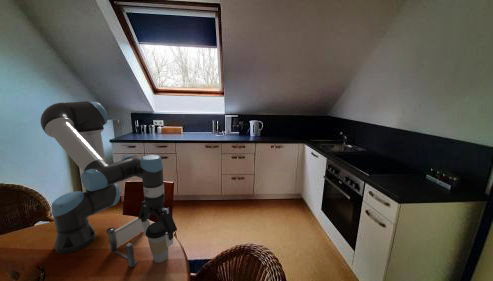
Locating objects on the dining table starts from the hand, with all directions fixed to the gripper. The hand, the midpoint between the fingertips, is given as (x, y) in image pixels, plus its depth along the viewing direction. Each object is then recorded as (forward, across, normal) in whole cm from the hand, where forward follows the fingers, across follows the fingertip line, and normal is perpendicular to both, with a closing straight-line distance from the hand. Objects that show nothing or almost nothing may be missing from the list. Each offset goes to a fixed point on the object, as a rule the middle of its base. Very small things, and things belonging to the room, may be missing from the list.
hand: (158, 239), depth 91 cm
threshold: (+9, -13, -7) cm, 17 cm away
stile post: (+9, -6, -9) cm, 14 cm away
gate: (+8, -21, +2) cm, 23 cm away
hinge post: (+9, -21, -7) cm, 24 cm away
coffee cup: (+9, +1, 0) cm, 9 cm away
